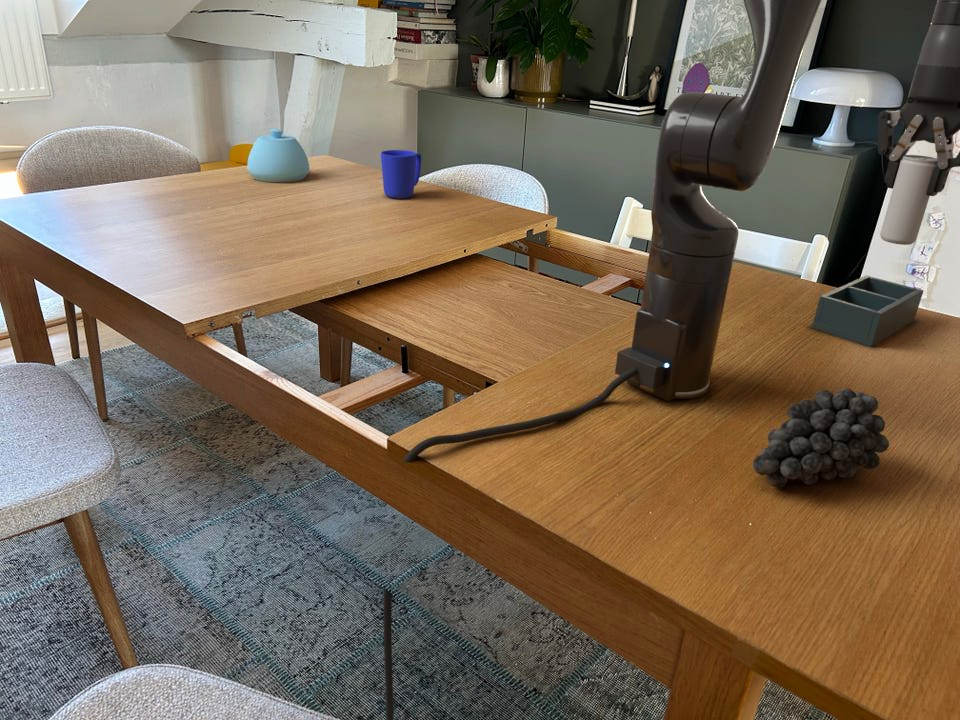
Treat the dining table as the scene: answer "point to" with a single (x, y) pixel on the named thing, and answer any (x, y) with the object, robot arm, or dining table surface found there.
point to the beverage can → (908, 199)
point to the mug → (400, 172)
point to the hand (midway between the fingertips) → (911, 190)
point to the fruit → (824, 439)
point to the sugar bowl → (277, 158)
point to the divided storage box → (867, 310)
